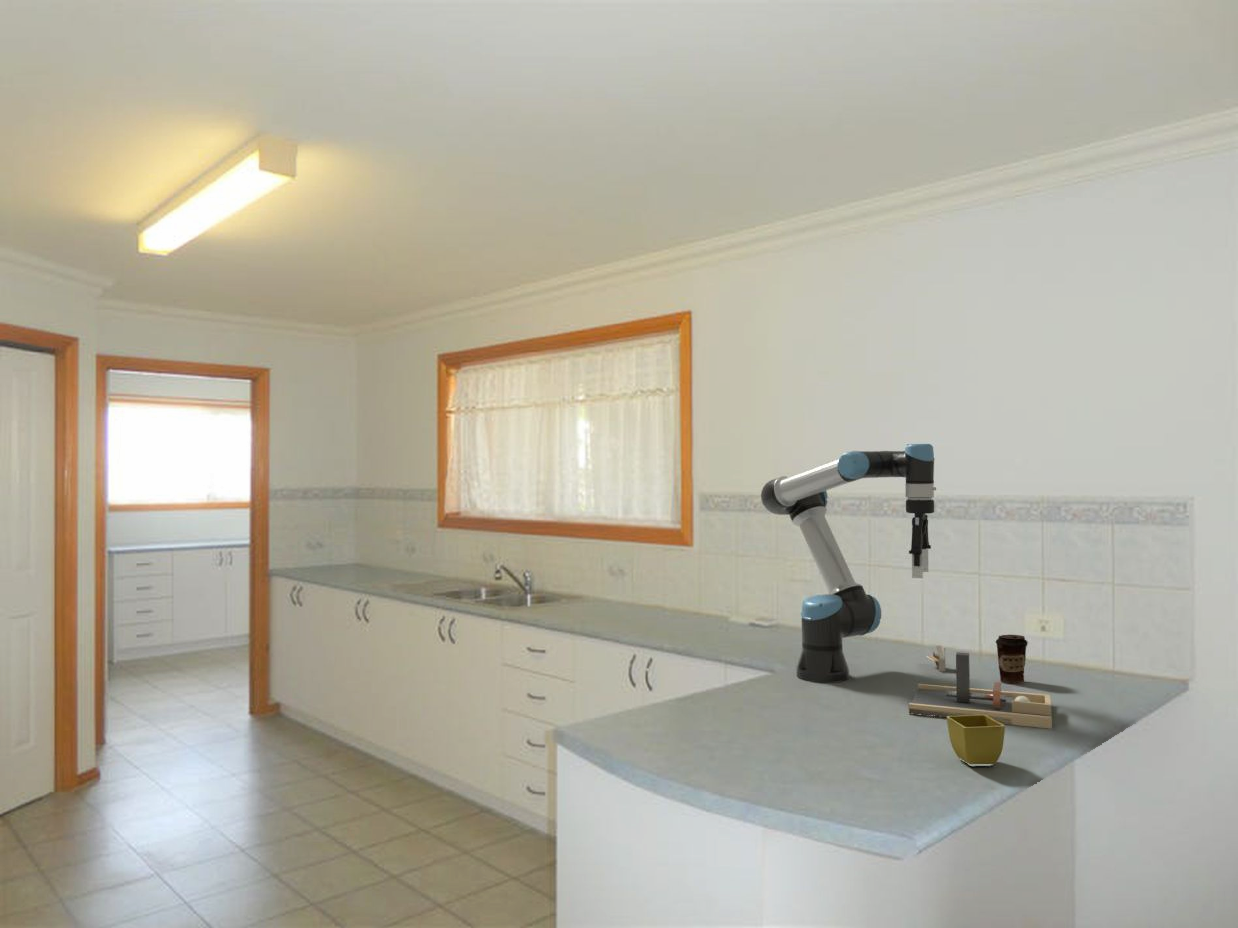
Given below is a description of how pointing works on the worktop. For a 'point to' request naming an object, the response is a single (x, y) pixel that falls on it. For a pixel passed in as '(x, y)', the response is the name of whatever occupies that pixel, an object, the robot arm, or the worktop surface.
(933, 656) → the architectural model
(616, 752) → the worktop surface
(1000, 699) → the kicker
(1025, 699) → the ball
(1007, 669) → the coffee cup
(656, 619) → the worktop surface
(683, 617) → the worktop surface
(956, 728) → the flower pot
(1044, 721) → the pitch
